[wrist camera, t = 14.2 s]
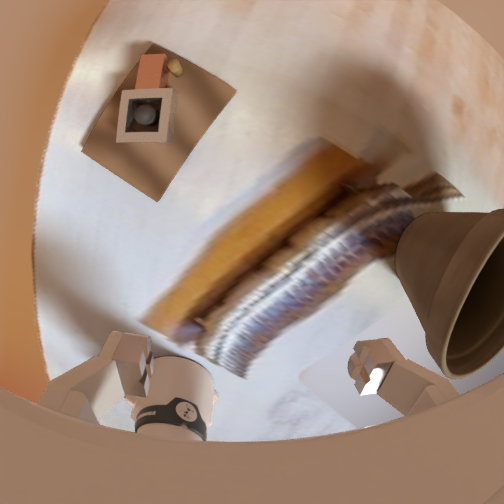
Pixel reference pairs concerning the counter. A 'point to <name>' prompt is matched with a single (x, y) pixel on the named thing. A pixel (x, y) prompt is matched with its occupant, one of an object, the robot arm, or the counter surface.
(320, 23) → the counter surface
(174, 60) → the post board
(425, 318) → the plant pot
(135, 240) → the counter surface
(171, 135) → the flange
